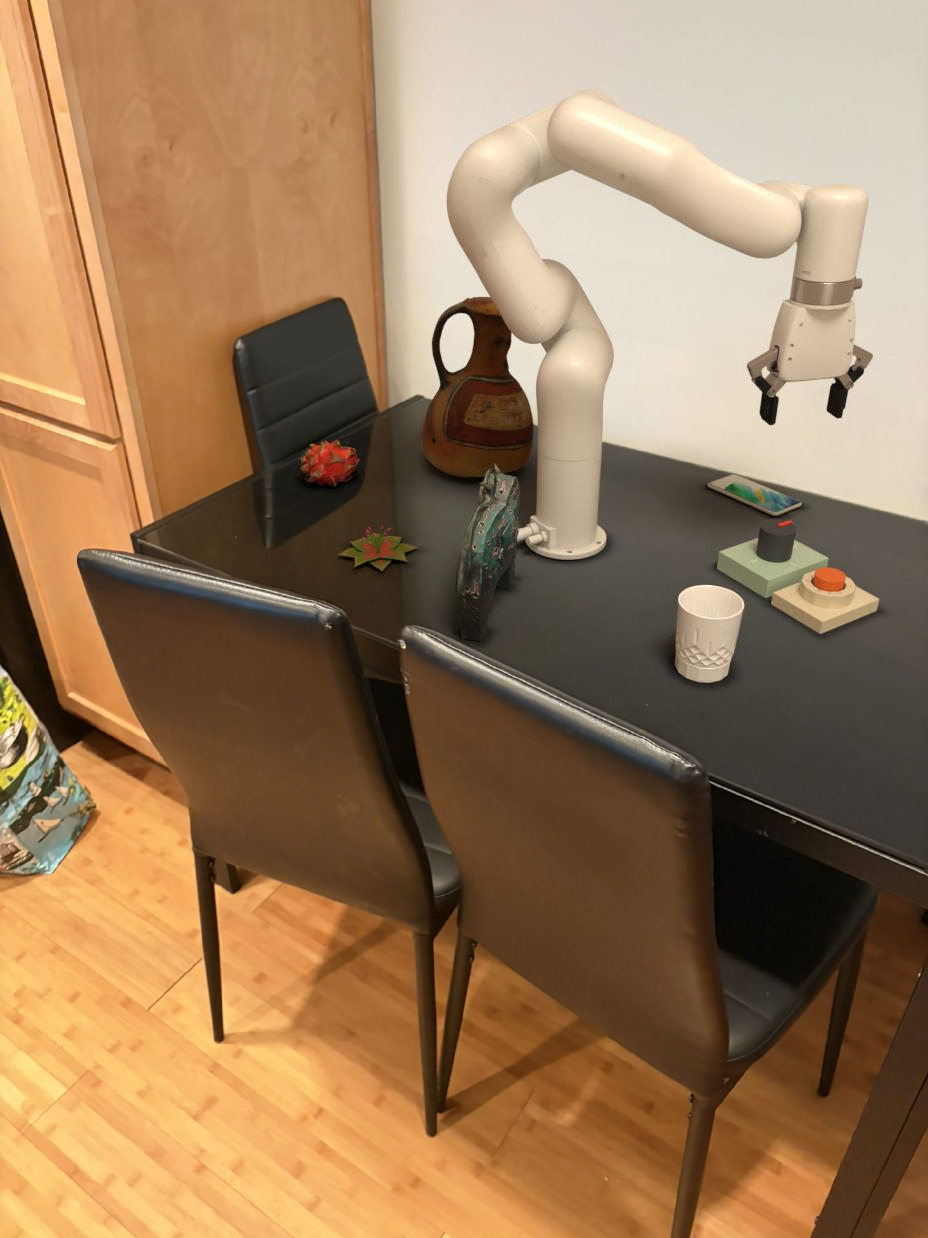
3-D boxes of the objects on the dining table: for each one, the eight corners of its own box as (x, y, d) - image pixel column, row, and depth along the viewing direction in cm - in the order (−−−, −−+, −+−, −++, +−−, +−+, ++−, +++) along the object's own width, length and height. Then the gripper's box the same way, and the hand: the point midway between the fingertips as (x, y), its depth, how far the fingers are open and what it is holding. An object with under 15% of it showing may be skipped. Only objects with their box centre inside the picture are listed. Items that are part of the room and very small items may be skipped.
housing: (820, 634, 129) (825, 609, 127) (770, 604, 136) (775, 579, 133) (876, 611, 134) (882, 586, 131) (826, 583, 140) (831, 558, 138)
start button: (829, 596, 130) (831, 584, 129) (806, 583, 133) (808, 572, 132) (849, 587, 132) (852, 576, 131) (826, 575, 135) (829, 564, 134)
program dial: (773, 565, 139) (779, 536, 136) (748, 551, 142) (753, 522, 140) (798, 556, 141) (804, 527, 138) (773, 543, 144) (778, 514, 142)
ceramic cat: (487, 569, 146) (487, 444, 135) (529, 574, 144) (532, 449, 133) (448, 640, 130) (443, 505, 119) (494, 647, 128) (494, 511, 117)
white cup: (663, 652, 126) (670, 586, 121) (722, 648, 127) (732, 582, 121) (679, 688, 120) (688, 620, 114) (742, 684, 120) (753, 616, 115)
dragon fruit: (297, 497, 171) (357, 489, 178) (314, 484, 164) (376, 476, 171) (286, 451, 172) (346, 445, 178) (303, 435, 165) (365, 430, 171)
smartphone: (733, 472, 171) (803, 501, 160) (733, 477, 171) (803, 506, 161) (705, 482, 167) (775, 513, 157) (705, 487, 168) (774, 517, 157)
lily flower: (373, 529, 157) (371, 504, 155) (432, 549, 151) (431, 523, 149) (323, 560, 149) (320, 533, 146) (383, 582, 143) (381, 554, 140)
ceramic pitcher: (535, 489, 169) (539, 316, 152) (420, 491, 169) (411, 318, 153) (530, 445, 185) (533, 285, 169) (425, 447, 185) (418, 287, 169)
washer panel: (765, 598, 137) (768, 579, 135) (716, 568, 144) (719, 550, 142) (825, 575, 142) (829, 556, 140) (775, 548, 149) (778, 529, 147)
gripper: (869, 278, 128) (845, 403, 137) (745, 288, 126) (730, 414, 135) (900, 292, 121) (873, 422, 131) (770, 303, 119) (752, 434, 129)
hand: (800, 418), depth 133 cm, fingers open, 9 cm apart
